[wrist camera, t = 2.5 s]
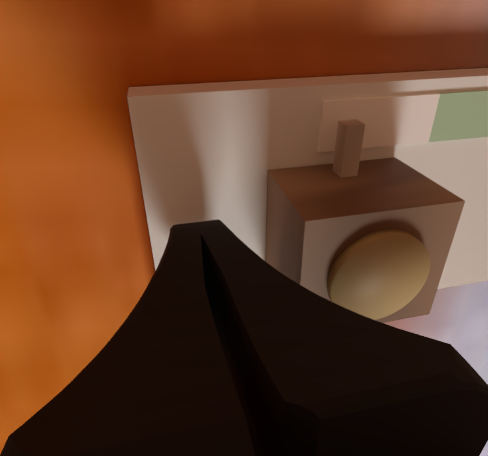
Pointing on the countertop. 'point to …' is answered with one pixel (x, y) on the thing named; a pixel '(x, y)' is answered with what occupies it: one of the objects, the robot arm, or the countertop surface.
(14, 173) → the countertop surface
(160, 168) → the gauge track
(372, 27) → the countertop surface
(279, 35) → the countertop surface
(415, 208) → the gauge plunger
